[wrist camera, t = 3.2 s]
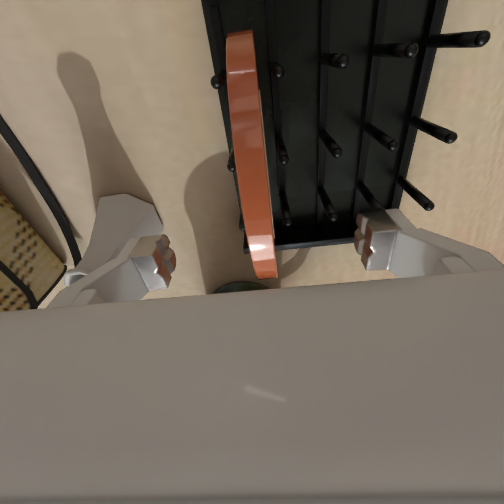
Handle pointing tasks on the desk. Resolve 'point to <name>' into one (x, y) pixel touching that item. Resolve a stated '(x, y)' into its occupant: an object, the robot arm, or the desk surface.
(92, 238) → the flask
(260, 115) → the plate
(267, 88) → the rack
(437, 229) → the desk surface
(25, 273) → the clutch purse
